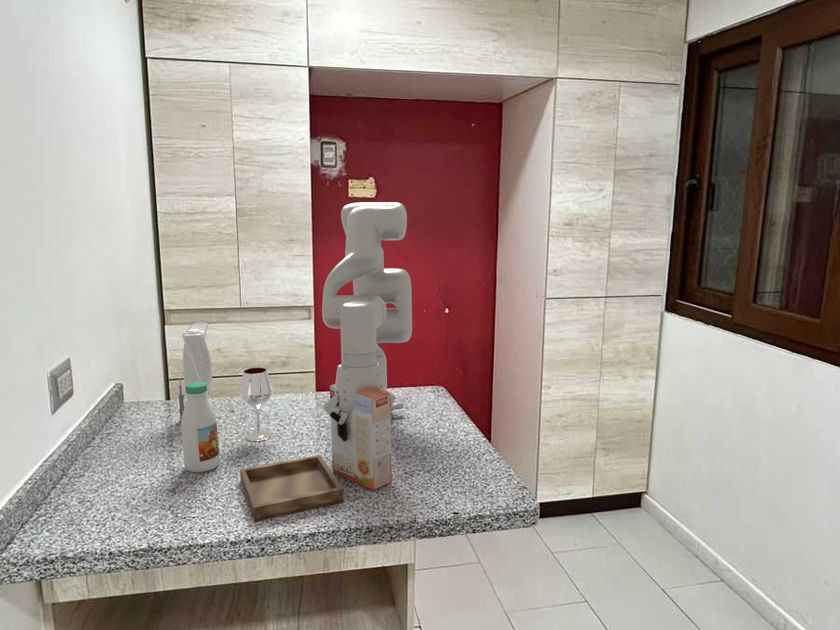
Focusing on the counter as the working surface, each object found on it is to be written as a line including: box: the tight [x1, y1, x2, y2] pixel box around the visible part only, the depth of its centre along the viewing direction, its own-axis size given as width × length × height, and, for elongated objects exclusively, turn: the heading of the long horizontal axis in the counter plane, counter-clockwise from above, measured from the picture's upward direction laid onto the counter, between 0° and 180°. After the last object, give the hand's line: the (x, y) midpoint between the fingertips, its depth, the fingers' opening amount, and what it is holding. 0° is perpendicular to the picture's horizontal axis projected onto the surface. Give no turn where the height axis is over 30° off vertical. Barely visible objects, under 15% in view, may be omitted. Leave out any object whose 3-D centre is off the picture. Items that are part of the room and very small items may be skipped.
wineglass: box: [239, 367, 274, 442], centre depth 153 cm, size 8×8×18 cm
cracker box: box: [329, 383, 393, 491], centre depth 130 cm, size 14×6×21 cm, turn 47°
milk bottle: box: [180, 382, 221, 473], centre depth 136 cm, size 8×8×20 cm
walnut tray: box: [239, 454, 345, 523], centre depth 126 cm, size 18×18×3 cm
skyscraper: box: [178, 321, 213, 423], centre depth 164 cm, size 8×8×28 cm
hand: (360, 435), depth 130 cm, fingers closed on cracker box, 7 cm apart
